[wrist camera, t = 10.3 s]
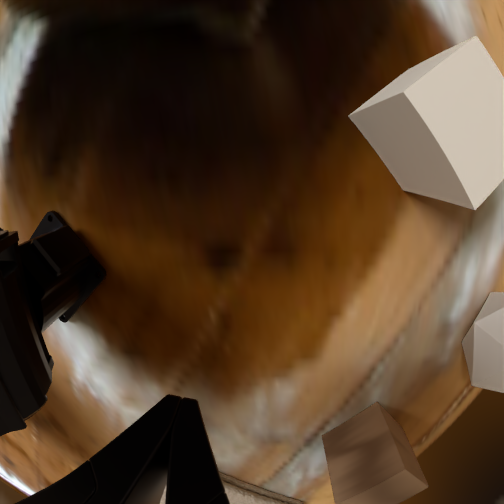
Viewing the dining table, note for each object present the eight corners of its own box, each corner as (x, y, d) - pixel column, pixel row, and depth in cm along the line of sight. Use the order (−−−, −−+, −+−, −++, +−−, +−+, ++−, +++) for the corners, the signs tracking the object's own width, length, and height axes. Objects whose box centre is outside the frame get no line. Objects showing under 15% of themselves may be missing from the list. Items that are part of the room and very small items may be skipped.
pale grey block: (402, 190, 19) (475, 210, 11) (347, 116, 18) (403, 92, 10) (456, 140, 18) (535, 140, 10) (408, 69, 17) (476, 35, 9)
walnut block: (352, 457, 26) (368, 517, 19) (321, 435, 25) (335, 504, 17) (402, 427, 25) (428, 486, 17) (376, 401, 24) (405, 469, 16)
